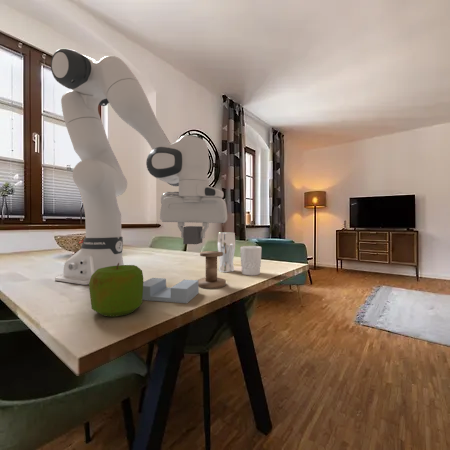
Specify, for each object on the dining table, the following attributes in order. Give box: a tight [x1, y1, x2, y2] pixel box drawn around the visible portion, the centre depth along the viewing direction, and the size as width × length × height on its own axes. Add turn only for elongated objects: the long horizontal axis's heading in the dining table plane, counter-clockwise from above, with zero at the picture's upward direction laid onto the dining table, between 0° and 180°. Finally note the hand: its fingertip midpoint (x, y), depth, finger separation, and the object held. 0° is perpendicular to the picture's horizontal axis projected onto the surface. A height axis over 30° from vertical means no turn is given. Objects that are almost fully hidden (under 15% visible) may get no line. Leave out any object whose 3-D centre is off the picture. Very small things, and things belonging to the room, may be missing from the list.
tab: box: [182, 225, 204, 245], centre depth 78 cm, size 4×6×5 cm, turn 169°
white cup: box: [239, 245, 262, 276], centre depth 98 cm, size 8×8×10 cm
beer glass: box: [217, 231, 236, 273], centre depth 103 cm, size 7×7×15 cm
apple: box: [88, 263, 144, 318], centre depth 58 cm, size 11×11×11 cm
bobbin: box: [197, 250, 227, 290], centre depth 81 cm, size 9×9×10 cm
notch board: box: [142, 277, 200, 304], centre depth 69 cm, size 14×9×4 cm, turn 77°
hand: (193, 237), depth 78 cm, fingers closed on tab, 4 cm apart
